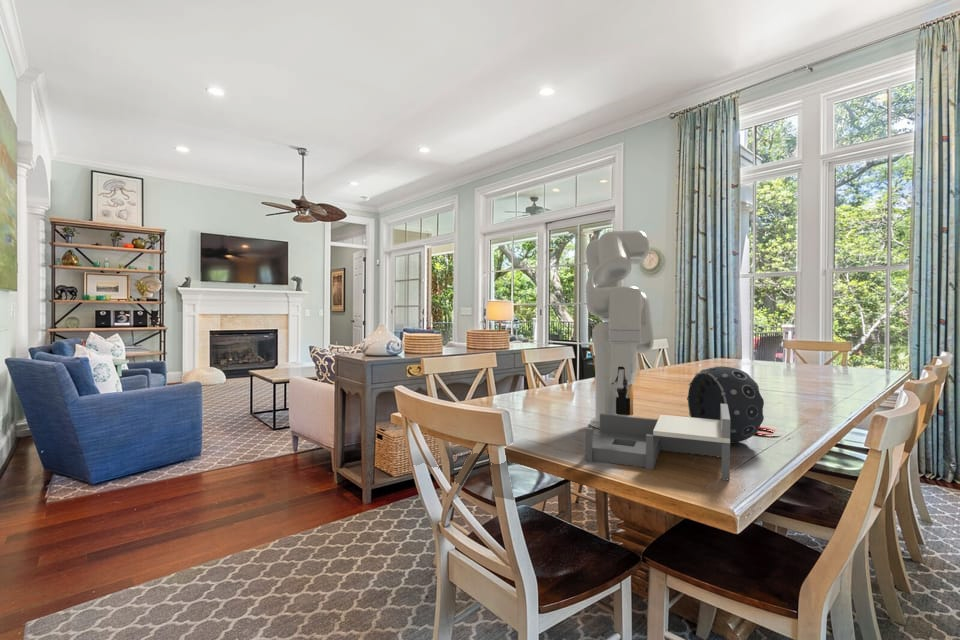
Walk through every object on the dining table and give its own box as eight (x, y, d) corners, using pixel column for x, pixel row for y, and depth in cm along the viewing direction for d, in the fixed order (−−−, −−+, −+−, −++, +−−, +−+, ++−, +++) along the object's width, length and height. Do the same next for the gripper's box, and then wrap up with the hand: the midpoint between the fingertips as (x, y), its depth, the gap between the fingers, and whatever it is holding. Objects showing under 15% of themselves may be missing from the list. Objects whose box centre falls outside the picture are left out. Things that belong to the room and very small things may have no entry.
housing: (600, 441, 126) (600, 413, 126) (726, 457, 113) (727, 425, 113) (585, 460, 111) (585, 428, 110) (729, 480, 98) (730, 444, 97)
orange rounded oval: (617, 411, 117) (617, 383, 117) (634, 413, 115) (634, 384, 115) (614, 414, 113) (614, 385, 113) (631, 416, 112) (632, 386, 112)
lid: (660, 418, 119) (660, 398, 119) (727, 424, 113) (727, 404, 112) (653, 435, 104) (653, 412, 104) (730, 443, 97) (730, 419, 97)
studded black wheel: (728, 453, 116) (728, 372, 115) (683, 432, 135) (684, 362, 135) (768, 451, 117) (769, 371, 116) (718, 430, 137) (719, 362, 136)
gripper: (615, 335, 123) (614, 405, 124) (601, 338, 108) (601, 418, 108) (645, 336, 120) (645, 407, 120) (636, 339, 105) (635, 421, 105)
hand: (624, 411), depth 114 cm, fingers closed on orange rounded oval, 4 cm apart
